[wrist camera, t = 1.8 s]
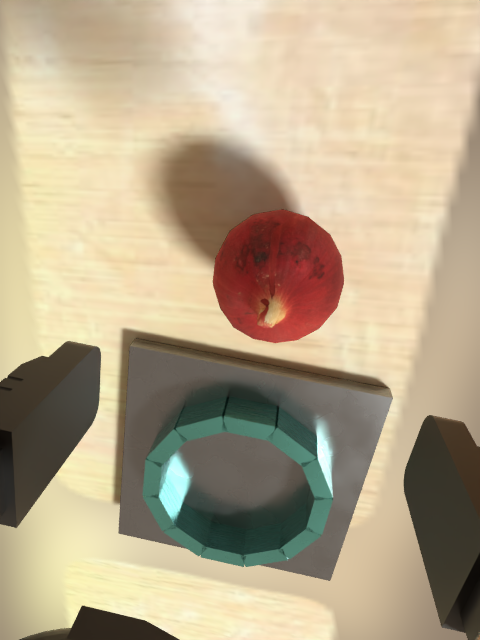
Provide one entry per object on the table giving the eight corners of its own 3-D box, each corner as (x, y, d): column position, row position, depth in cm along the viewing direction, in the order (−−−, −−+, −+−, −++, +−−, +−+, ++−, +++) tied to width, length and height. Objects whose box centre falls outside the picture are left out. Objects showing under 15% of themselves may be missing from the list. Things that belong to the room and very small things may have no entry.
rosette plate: (135, 338, 27) (116, 362, 24) (389, 388, 26) (399, 419, 23) (123, 522, 33) (107, 557, 30) (329, 567, 32) (331, 609, 30)
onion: (216, 210, 24) (176, 249, 16) (329, 188, 22) (341, 219, 15) (239, 314, 26) (213, 390, 18) (344, 298, 25) (361, 372, 17)
